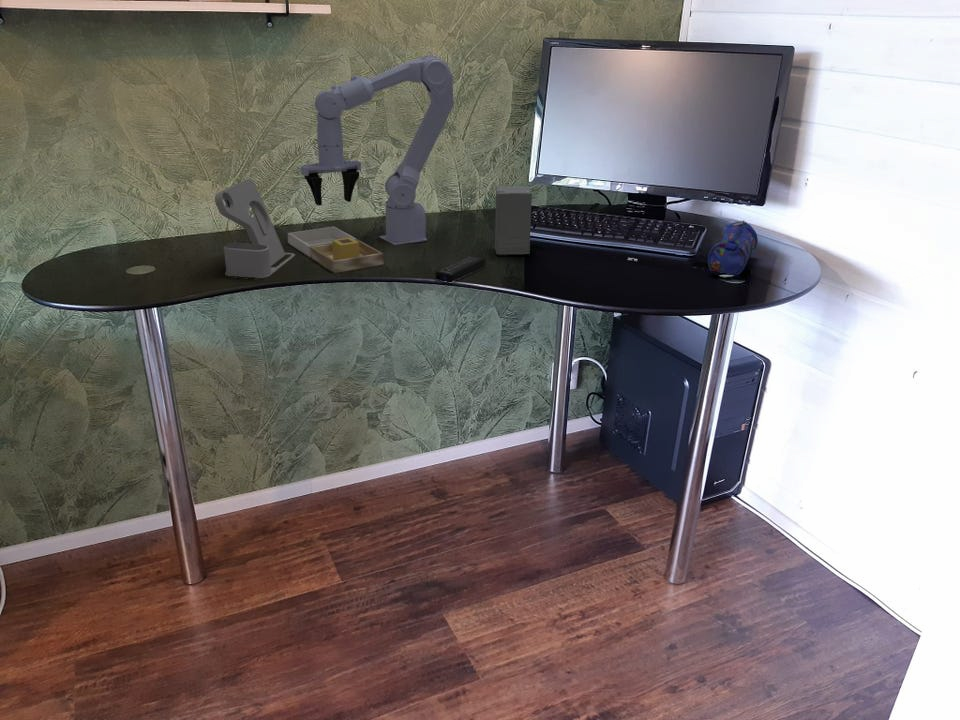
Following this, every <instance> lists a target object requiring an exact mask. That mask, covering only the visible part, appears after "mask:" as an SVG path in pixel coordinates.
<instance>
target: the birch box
mask: <svg viewBox="0 0 960 720" xmlns="http://www.w3.org/2000/svg"><path fill="white" fill-rule="evenodd" d="M356 241H357V242H359V250H360V257H354V258H348V259H342V260H336V261H335V260H333V248H332V244H327V245H321V246H315V247H310V253H311V257H310V258H311V259H312V261H315V262H316V263H318V264H320V265H321V266H322V267H324V268H325V269H327V270H329V271H330V272H332V273H333V274H334V276H336V275H337V276H338V275H339V273H340V274H341V275H342V274H344V272H345V274H346V273H347V274H348V273H350V271H351V273H353V272H355V271H356V272H358V271H361V269H362V271H365V270H367V268H368V270H370V269H372V268H373V269H376V268H378V266H379V268H381V267H383V266H384V261H385V260H384V259H385V258H384V253H383V252H382V251H380V250H378V249H376V248H374V247H372V246H371V245H369V244H367V243H365V242H363V241H361V240H360V239H357V240H356ZM341 272H342V273H341Z"/></svg>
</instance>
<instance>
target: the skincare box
mask: <svg viewBox="0 0 960 720" xmlns="http://www.w3.org/2000/svg"><path fill="white" fill-rule="evenodd" d="M495 189H496V191H495V228H494V229H495V231H494V233H495V234H494V237H495V238H494V249H495V254H530V252H531V251H530V250H531V245H530V244H531V228H532V227H531V225H532V224H531V221H532V220H531V219H532V196H533V193H532V190H531V187H530V185H517V186H516V185H515V186H514V185H512V186H511V185H510V186H509V185H508V186H507V185H502V186H501V185H496V187H495ZM530 255H531V254H530Z"/></svg>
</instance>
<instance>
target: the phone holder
mask: <svg viewBox="0 0 960 720" xmlns="http://www.w3.org/2000/svg"><path fill="white" fill-rule="evenodd" d="M214 203H215V206H216V208H217V211H218V212H219V213H220V215H221V216H223V217H225V218H226V219H228V220H230V221H232V222H233V223H235V224H237V225H239V226H241V227H242V228H244V230H245V231H246V233H247V235H248V238H249V239H250V242H251V243H246V242H243V243H242V242H231V243H227V244H225V245H224V246H223V253H224V261H225V270H226V271H224V273H225V274H224V275H225V276H226V275H227V276H239V277H255V278H267V277H270V276H272V275H273V274H274V273H275V272H276V271H278V270H279V269H280V268H281V267H283V266H284V265H285V264H286V263H288V262H289V261H290V260H292V259H293V258H294V257H296V254H295V253H292V252H285V249H284V248H283V245H282V242H281V241H280V237H279V236H278V234H277V232H276V229H275V227H274V224H273V222H272V220H271V218H270V215H269V213H268V211H267V208H266V206H265V204H264V201H263V198H262V196H261V194H260V191H259V188H258V187H257V185H256V183H255V182H254V181H253V179H252V178H248V179H244V180H241V181H239V182H237V183H236V184H234V185H231V186H229V187H226V188H224V189H223V190H221V191H218V192H217V193H215V195H214ZM249 208H251V211H252V212H253V215H250V212H249ZM287 255H289V257H287V258H286V259H285V260H284V261H282V262H281V263H279V265H277V266H274V267H272V266H273V265H275V264H276V263H277V262H278V261H280V259H282V258H284V256H287ZM227 276H226V277H227Z"/></svg>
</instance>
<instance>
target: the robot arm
mask: <svg viewBox="0 0 960 720" xmlns="http://www.w3.org/2000/svg"><path fill="white" fill-rule="evenodd" d="M405 82H412V83H416V84H417V83H418V84H421V83H422V84H423V85H424V87H425V88H426V91H427V94H428V96H429V99H430V103H429V106H428V108H427V110H426V112H425V114H424V116H423V118H422V120H421V122H420V124H419V127H418V129H417V131H416V133H415V134H414V137H413V138H412V141H411V143H410V145H409V147H408V149H407V152H406V154H405V155H404V158H403V160H402V161H401V162H400V164H399V165H397V167H396V169H395V171H394V173H393V174H391V175H389V176H388V178H387V179H386V181H385V183H384V189H385V193H386V194H387V195H388V198H387V201H386V202H385V235H379V238H381V239H382V240H384V241H386V242H388V243H389V244H392V245H393V246H397V245H402V244H408V243H411V244H414V243H415V244H416V243H421V242H427V241H428V239H427V237H426V230H427V229H426V225H427V224H426V223H427V222H426V211H425V208H424V206H423V205H422V204H421V203H419V202H415V200H416V195H417V193H416V192H417V191H416V190H417V187H418V185H419V183H420V176H421V172H422V170H423V168H424V166H425V164H426V163H427V160H428V158H429V156H430V154H431V152H432V150H433V147H434V146H435V144H436V142H437V140H438V138H439V135H440V133H441V132H442V130H443V128H444V125H445V123H446V121H447V120H448V118H449V115H450V114H451V111H453V108H454V104H455V102H454V101H455V99H454V98H455V97H454V85H453V83H454V76H453V73H452V71H451V68H450V67H449V65H448V63H447V62H446V61H445V60H444V59H441V58H438V57H437V56H434V55H432V54H429V55H428V54H427V55H424V56H423V57H421V58H420V57H418V58H415V59H411V60H408V61H406V62H404V63H400V64H399V65H397V66H395V67H393V68H390V69H388V70H386V71H383V72H381V73H379V74H377V75H375V76H373V77H370V78H367V77H364V76H362V75H360V76H357V75H351V76H350V80H348V81H345V82H343V83H341V84H338V85H335V84H332V85H330V88H331V89H323V90H321V91H319V92H318V93H317V95H316V96H315V99H314V107H315V109H316V111H317V113H316V114H317V115H316V120H317V124H316V134H317V135H316V136H317V150H318V162H316V163H311V164H307V165H300V173H301V175H302V176H304V179H305V181H306V182H307V184H308V186H309V188H310V191H311V194H312V195H313V199H314V203H315V205H317V206H323V201H322V199H323V198H322V197H323V196H322V183H323V178H322V177H321V176H320V175H319V174H328V173H329V174H330V173H339V172H341V178H342V183H343V184H342V185H343V198H344V201H346V202H347V203H351V202H352V197H353V191H354V189H355V185H356V183H357V181H358V179H359V177H360V172H359V171H362V162H361V161H359V160H345V161H344V143H343V142H344V141H343V138H344V137H343V124H342V119H341V115H342V112H343V111H346V112H347V111H349V110H352V109H355V108H358V107H359V106H362V105H364V104H366V103H368V102H371V101H372V100H373V97H374V94H375V93H377V92H381V91H383V90H385V89H388V88H391V87H394V86H397V85H400V84H402V83H405Z"/></svg>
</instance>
